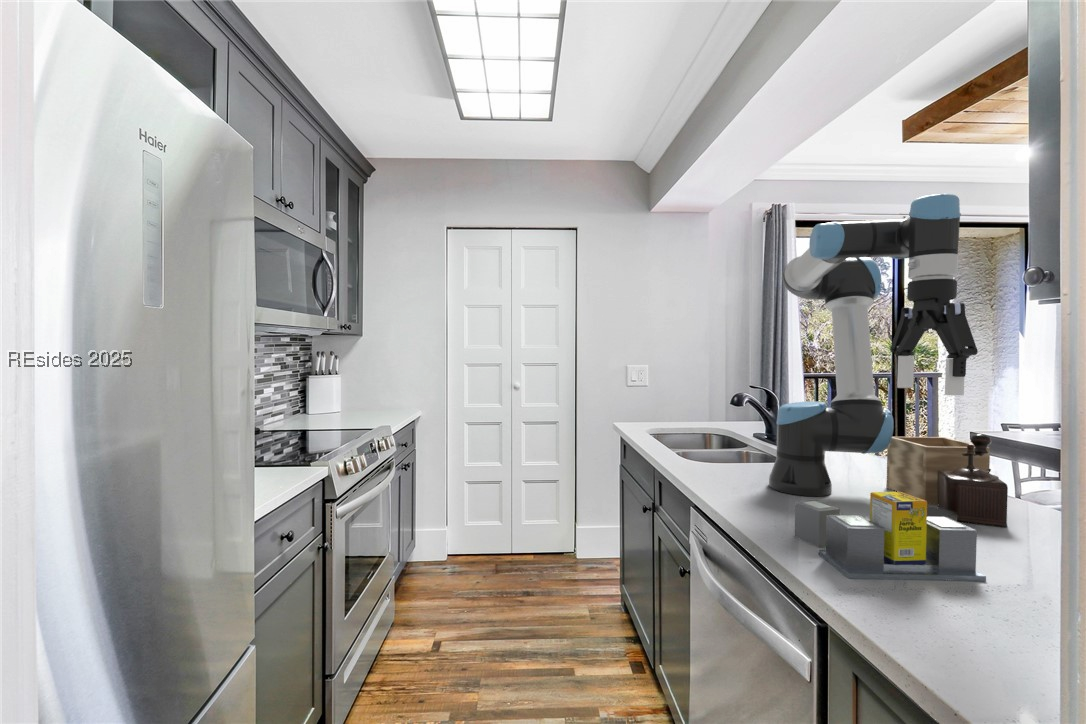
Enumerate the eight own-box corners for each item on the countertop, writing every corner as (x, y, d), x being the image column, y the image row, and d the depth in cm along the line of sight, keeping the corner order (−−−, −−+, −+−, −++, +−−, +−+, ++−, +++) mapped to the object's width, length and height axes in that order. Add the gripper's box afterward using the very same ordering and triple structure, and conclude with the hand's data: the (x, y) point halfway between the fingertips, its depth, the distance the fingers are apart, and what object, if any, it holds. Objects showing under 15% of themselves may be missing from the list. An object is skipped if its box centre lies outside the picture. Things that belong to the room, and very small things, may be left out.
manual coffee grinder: (1012, 529, 110) (1015, 444, 109) (947, 521, 114) (949, 439, 114) (987, 508, 124) (989, 433, 123) (930, 502, 128) (932, 429, 128)
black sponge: (929, 544, 101) (930, 525, 101) (882, 531, 108) (882, 514, 108) (960, 528, 111) (960, 511, 111) (914, 517, 118) (915, 501, 118)
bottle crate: (886, 487, 142) (887, 436, 141) (942, 488, 141) (944, 437, 141) (925, 504, 127) (926, 447, 126) (988, 505, 126) (990, 447, 126)
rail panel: (818, 554, 95) (819, 511, 95) (941, 556, 95) (942, 512, 94) (848, 578, 85) (849, 530, 85) (986, 581, 85) (987, 532, 84)
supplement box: (926, 565, 87) (928, 500, 87) (893, 566, 87) (895, 501, 87) (899, 551, 93) (901, 490, 93) (868, 552, 93) (869, 491, 93)
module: (794, 536, 104) (795, 501, 104) (814, 534, 106) (814, 499, 106) (818, 547, 99) (819, 510, 98) (839, 544, 100) (839, 507, 100)
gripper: (873, 286, 111) (870, 385, 112) (960, 271, 86) (955, 398, 87) (909, 286, 110) (906, 385, 111) (1008, 271, 86) (1002, 399, 87)
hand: (927, 391), depth 99 cm, fingers open, 13 cm apart
